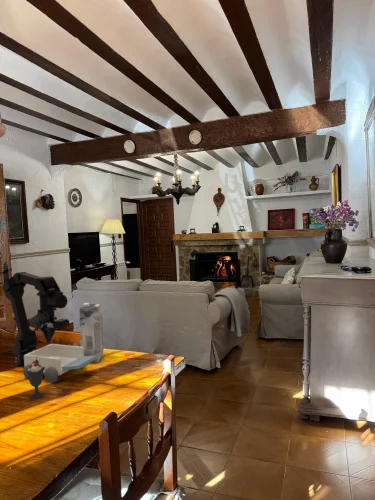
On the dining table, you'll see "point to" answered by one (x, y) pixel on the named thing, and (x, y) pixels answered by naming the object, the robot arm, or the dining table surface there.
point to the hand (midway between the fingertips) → (48, 342)
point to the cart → (53, 359)
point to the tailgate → (79, 362)
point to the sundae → (35, 377)
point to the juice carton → (91, 330)
